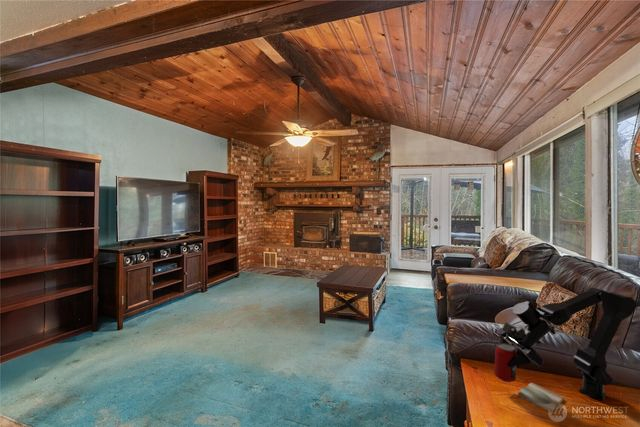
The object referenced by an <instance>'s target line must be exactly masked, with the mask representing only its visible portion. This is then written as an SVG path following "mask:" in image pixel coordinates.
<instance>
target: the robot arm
mask: <svg viewBox="0 0 640 427" xmlns="http://www.w3.org/2000/svg"><path fill="white" fill-rule="evenodd" d="M599 303H601V308H602V309H601V310H602V312H603V313H602V316H601V318H600V320H599V322H598V324H597V327H595V331H594V332H593V335H592V337H591V338H590V341H589V343H588V345H587V347H585V348H582V349H581V348H580V347H578V348H577V350H576V353H575V355H573V358H574V359H573V363H574V366H575V367H576V369H577V371H578V372H580V373H581V374H582V385H581V387H580V388H579V389H578V392H579V391H580V392H579V393H582V394H584V395H586V396H589V397H590V398H594V399H596V400H598V401H601V402H603V401H604V400H605V399H606V396H607V393H605V392H604V388H605V386H608V385H611V384H612V382H613V381H614V379H613V378H612V377H611V375H609V373H608V372H607V371H606V370H607V366H608V365H607V364H608V363H607V360H606V354H607V352H608V350H609V348H610V346H611V345H612V342H613V339H614V338H615V335H616V333H617V332H618V329H619V326H620V325H621V323H622V321H624V320H625V319H627V318H629V317H631V316H632V315H633V313H634V312H635V310H636V309H637V305H638V304H637V303H636V301H635V299H634V298H633V297H632V296H627V295H623V294H620V293H618V292H612V291H610V292H608V291H606V290H603V289H600V288H597V287H590V288H588V289H587V290H585V291H584V292H582V293H579V294H576V295H575V296H573V297H570V298H569V299H566V300H564V301H561V302H550V303H547V304H544V305H542V306H539V307H534V305H533V303H531V301H528V300H525V301H524V302H519V303H516V304H515V305H514V306H513V308H512V312H513V313H514V315H516V316H517V318H519V320H520V321H521V322H522V323H523V324H525V325H526V326H524V327H523V326H518V327H516V326H515V325H513V324H510V323H508V322H505V323H504V324H503V327H501V328H499V329H498V330H497V331H496V332H497V334H498V336H499V338H500V343H504V344H508V345H511V346H515V347H517V348H516V353H517V354H516V355H515V356H514V357H513V358H512V359H511V360H510V361H509V362H508V364H507V366H508V367H513V366H516V367H517V366H521V365H528V364H530V365H531V364H532V365H534V364H536V365H537V366H538V367H541V366H542V365H543V364H544V358H543V357H542V356H541V355H540V353H538V352H537V351H536V350H535V349H534V348H533V347H534V346H535V345H536V344H537V345H539V346H540V344H541V342H540V341H541V339H543V337H545V336H546V335H547V334H548V333H550V334H552V335H553V336H556V331H555V326H557V327H559V326H563V325H564V324H566V323H567V322H570V320H571V318H572V316H573V315H575V314H577V313H579V312H581V311H583V310H586V309H587V308H590V307H593V306H595V305H597V304H599ZM548 322H549V323H550V324H549V323H548ZM500 343H499V344H500Z"/></svg>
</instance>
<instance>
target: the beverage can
mask: <svg viewBox="0 0 640 427" xmlns="http://www.w3.org/2000/svg"><path fill="white" fill-rule="evenodd" d="M494 353H495V354H494V376H495V377H497V378H498V379H499V380H501V381H502V382H506V383H512V382H515V381H516V377H517V366H513V367H508V366H507V364H508V362H509V361H510V360H511V359H512V358H513V357H514V356H515V355H516V354H517V350H516V348H515V347H514V345H508V344H504V343H498V344H497V346H496V347H495V350H494Z"/></svg>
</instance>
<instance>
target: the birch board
mask: <svg viewBox="0 0 640 427" xmlns="http://www.w3.org/2000/svg"><path fill="white" fill-rule="evenodd" d="M519 390H520V391H519V392H518V394H517V396H518V397H520V398H521V399H524V400H526V401H528V402H530V403H531V404H534V405H536V406H537V407H540V408H542V407H543V408H542V409H544V408H545V409H544V410H546V409H547V410H546V411H548V410H549V411H548V412H550V411H551V412H550V413H553V412H554V411H555V410H556V408H557V407H558V406H559V405H560V404H561V403H562V402H563V401H564V396H562V395H561V394H558V393H556V392H554V391H551V390H549V389H547V388H546V387H543V386H540V385H539V384H535V383H533V382H530V383H528V385H526V386H524V387H521V388H520V389H519ZM553 410H554V411H553ZM552 411H553V412H552Z"/></svg>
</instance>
